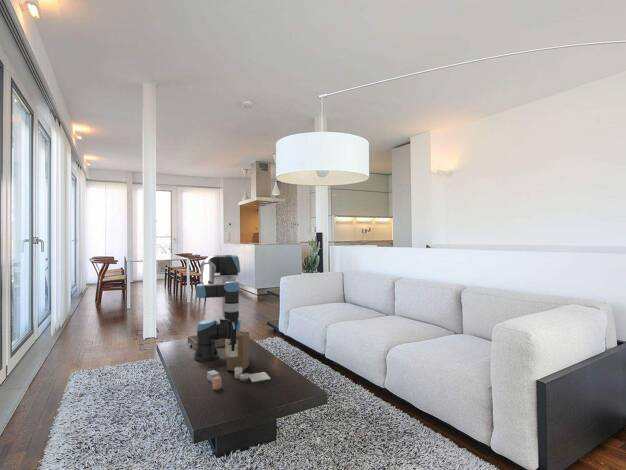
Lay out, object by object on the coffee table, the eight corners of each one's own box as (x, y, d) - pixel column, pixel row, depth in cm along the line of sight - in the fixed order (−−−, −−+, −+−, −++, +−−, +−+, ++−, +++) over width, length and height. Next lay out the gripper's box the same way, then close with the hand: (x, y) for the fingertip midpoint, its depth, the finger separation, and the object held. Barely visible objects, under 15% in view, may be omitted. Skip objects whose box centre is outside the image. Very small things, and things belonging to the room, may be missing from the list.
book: (195, 351, 243) (195, 343, 243) (187, 343, 262) (187, 336, 262) (238, 344, 259) (238, 337, 259) (228, 337, 278) (228, 330, 278)
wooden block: (242, 371, 204) (242, 336, 204) (226, 370, 206) (226, 335, 207) (249, 365, 214) (249, 331, 214) (233, 364, 216) (233, 331, 216)
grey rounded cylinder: (233, 376, 197) (233, 367, 197) (241, 375, 199) (241, 366, 199) (235, 379, 193) (235, 369, 194) (242, 377, 195) (242, 368, 195)
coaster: (247, 375, 198) (247, 374, 198) (264, 372, 202) (264, 371, 202) (252, 382, 189) (252, 381, 189) (270, 379, 193) (270, 378, 193)
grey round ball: (238, 379, 194) (238, 373, 194) (247, 377, 196) (247, 372, 196) (240, 382, 189) (240, 376, 189) (249, 380, 191) (250, 375, 191)
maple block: (225, 354, 192) (225, 339, 192) (235, 353, 194) (235, 338, 194) (227, 357, 187) (227, 342, 187) (237, 356, 189) (237, 341, 189)
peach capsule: (211, 387, 183) (211, 377, 183) (220, 385, 185) (220, 375, 185) (213, 390, 179) (213, 380, 179) (222, 388, 181) (222, 378, 181)
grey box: (207, 379, 194) (207, 371, 194) (214, 377, 196) (214, 370, 196) (212, 382, 189) (212, 374, 189) (219, 380, 192) (219, 373, 192)
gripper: (221, 308, 198) (221, 350, 198) (227, 314, 181) (227, 361, 181) (235, 307, 201) (235, 349, 201) (242, 313, 184) (242, 359, 184)
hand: (231, 354), depth 191 cm, fingers closed on maple block, 6 cm apart
